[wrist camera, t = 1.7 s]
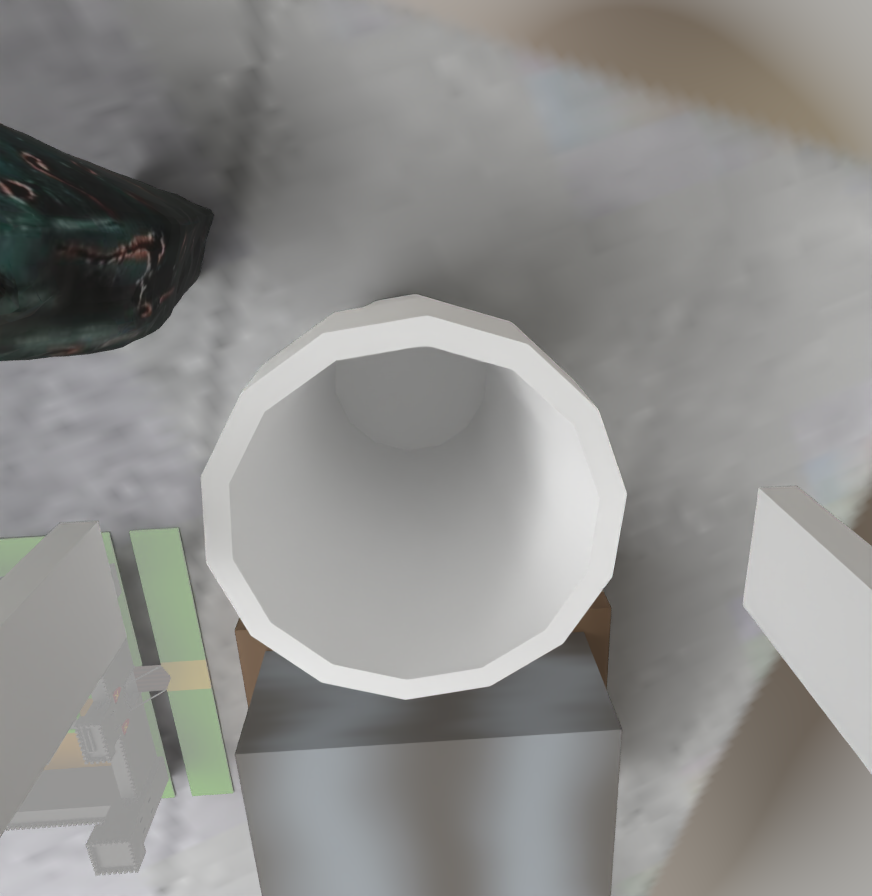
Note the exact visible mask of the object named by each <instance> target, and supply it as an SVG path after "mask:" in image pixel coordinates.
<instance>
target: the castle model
mask: <svg viewBox="0 0 872 896" xmlns="http://www.w3.org/2000/svg"><path fill="white" fill-rule="evenodd" d="M129 533H130V538H131V542H132V546H133V550H134V554H135V558H136V563H137V567H138V571H139V575H140V579H141V584H142V588H143V592H144V596H145V600H146V604H147V609H148V613H149V617H150V621H151V625H152V630H153V634H154V638H155V642H156V646H157V651H158V655H159V659H160V663H161V665H152V666H142V661H141V657H140V653H139V649H138V645H137V641H136V637H135V633H134V629H133V625H132V621H131V617H130V613H129V609H128V605H127V601H126V597H125V593H124V589H123V585H122V581H121V577H120V573H119V569H118V565H117V561H116V557H115V553H114V549H113V545H112V541H111V537H110V533H109V532H101V534H102V538H103V542H104V546H105V550H106V554H107V558H108V562H109V566H110V570H111V574H112V578H113V582H114V586H115V590H116V595H117V599H118V603H119V607H120V611H121V615H122V619H123V623H124V627H125V631H126V635H127V637H126V639H125V641H124V642H123V644H122V645H121V647H120V649H119V650H118V652H117V653H116V655H115V657H114V658H113V660H112V661H111V663H110V664H109V666H108V668H107V669H106V671H105V672H104V674H103V676H102V677H101V679H100V680H99V682H98V683H97V685H96V687H95V688H94V690H93V691H92V693H91V695H90V696H89V698H88V699H87V701H86V702H85V704H84V706H83V707H82V709H81V710H80V712H79V714H78V715H77V717H76V718H75V720H74V721H73V723H72V725H71V726H70V728H69V729H68V731H67V733H66V734H65V736H64V737H63V739H62V740H61V742H60V744H59V745H58V747H57V748H56V750H55V752H54V753H53V755H52V756H51V758H50V759H49V761H48V763H47V764H46V766H45V767H44V769H43V771H42V772H41V774H40V775H39V777H38V778H37V780H36V782H35V783H34V785H33V786H32V788H31V790H30V791H29V793H28V794H27V796H26V797H25V799H24V801H23V802H22V804H21V805H20V807H19V809H18V810H17V812H16V813H15V815H14V816H13V818H12V820H11V821H10V823H9V824H8V826H7V828H6V831H9V830H10V828H11V830H14V829H15V828H16V829H17V830H19V829H20V828H21V829H22V830H23V829H25V828H27V829H30V828H31V827H32V829H35V827H36V826H37V828H40V827H41V826H42V828H45V827H46V826H47V827H48V828H50V827H51V825H52V826H53V827H56V825H58V827H61V825H63V827H65V826H66V825H67V824H68V826H71V825H72V824H73V826H76V825H77V823H78V825H82V823H83V824H84V825H87V823H89V825H92V823H93V822H94V824H97V823H98V822H99V825H95V827H94V829H93V831H92V833H91V835H90V837H89V840H88V842H87V844H86V847H88V848H87V851H89V853H88V854H89V855H90V859H92V860H91V863H93V864H92V866H93V867H94V871H95V875H96V876H97V875H100V874H101V873H102V875H105V874H106V872H107V873H108V875H111V873H112V872H113V874H116V873H117V872H118V873H119V874H122V872H123V871H124V874H125V873H127V872H128V871H129V872H130V873H133V870H135V873H138V871H139V869H140V866H141V863H142V861H143V858H144V856H145V853H146V850H145V846H144V841H145V838H146V836H147V833H148V831H149V828H150V826H151V823H152V820H153V818H154V815H155V813H156V810H157V808H158V805H159V803H160V800H161V798H172V797H175V793H174V789H173V785H172V781H171V777H170V773H169V769H168V765H167V761H166V757H165V753H164V749H163V745H162V741H161V737H160V733H159V729H158V725H157V721H156V717H155V713H154V709H153V705H152V701H151V699H153V698H154V697H156V696H158V695H159V694H161V693H163V692H165V691H166V690H167V692H168V697H169V701H170V705H171V709H172V713H173V717H174V722H175V726H176V730H177V734H178V738H179V743H180V747H181V751H182V755H183V759H184V764H185V768H186V772H187V776H188V780H189V784H190V789H191V793H192V796H200V795H214V794H228V793H233V792H234V791H233V786H232V781H231V777H230V772H229V767H228V762H227V757H226V753H225V748H224V743H223V738H222V733H221V729H220V724H219V719H218V714H217V709H216V705H215V700H214V695H213V690H212V685H211V681H210V676H209V671H208V666H207V661H206V657H205V652H204V647H203V642H202V638H201V633H200V628H199V623H198V618H197V614H196V609H195V604H194V599H193V594H192V590H191V585H190V580H189V575H188V570H187V566H186V561H185V556H184V551H183V546H182V542H181V537H180V532H179V528H163V529H147V530H132V531H129ZM44 537H45V536H38V537H22V538H6V539H0V580H1V579H2V578H3V577H4V576H5V575H6V574H7V573H8V572H9V571H10V570H11V569H12V568H13V567H14V566H15V565H16V564H17V563H18V562H19V561H20V560H21V559H22V558H24V557H25V556H26V555H27V554H28V553H29V552H30V551H31V550H32V549H33V548H34V547H35V546H36V545H37V544H38V543H39V542H40V541H41V540H42V539H43V538H44ZM149 691H161V692H160V693H158V694H156V695H155V696H153V697H150V693H149ZM102 822H103V823H102Z"/></svg>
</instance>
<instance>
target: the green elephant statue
mask: <svg viewBox="0 0 872 896" xmlns="http://www.w3.org/2000/svg"><path fill="white" fill-rule="evenodd" d="M213 216H214V214H213V213H212V211H211V210H210V209H207V208H204V207H201V206H198V205H196V204H194V203H192V202H190V201H188V200H186V199H185V198H183V197H181V196H179V195H177V194H173V193H169V192H166V191H162V190H159V189H156V188H154V187H152V186H150V185H147V184H145V183H142V182H140V181H137V180H134V179H132V178H129V177H127V176H124V175H121V174H118V173H115V172H112V171H110V170H107V169H105V168H103V167H100V166H98V165H95V164H93V163H90V162H88V161H85V160H82V159H80V158H77V157H74V156H72V155H69V154H66V153H64V152H62V151H60V150H58V149H55V148H53V147H51V146H49V145H47V144H45V143H43V142H41V141H39V140H37V139H35V138H33V137H31V136H29V135H27V134H24V133H22V132H19V131H17V130H14V129H11V128H9V127H7V126H5V125H2V124H0V361H10V360H30V359H38V358H46V357H58V356H74V355H85V354H92V353H97V352H102V351H108V350H113V349H117V348H121V347H124V346H126V345H127V344H129V343H131V342H133V341H135V340H138V339H140V338H143V337H145V336H147V335H149V334H151V333H153V332H154V331H156V330H157V329H159V328H160V327H161V326H162V325H163V324H164V322H165V321H166V320H167V319H168V318H169V317H170V315H171V313H172V310H173V308H174V307H175V306H176V304H177V303H178V302H179V300H180V299H181V297H182V296H183V295H184V293H185V292H186V291H187V290H188V289H189V288H190V287H191V286H192V285H193V284H194V283H195V281H196V280H197V279H198V277H199V274H200V270H201V265H202V260H203V254H204V249H205V241H206V239H207V236H208V233H209V230H210V226H211V223H212V219H213Z"/></svg>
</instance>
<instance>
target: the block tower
mask: <svg viewBox="0 0 872 896" xmlns="http://www.w3.org/2000/svg"><path fill="white" fill-rule="evenodd" d="M610 621H611V606H610V604H609V602H608V600H607V598H606V596H605V594H604V592H603V590H602V591H601V593H600V594H599V595H598V597H597V598H596V600H595V601H594V602H593V604H592V605H591V606H590V608H589V609H588V610H587V612H586V613H585V614H584V616H583V617H582V619H581V620H580V621H579V623H578V624H577V625H576V627H575V628H574V629H573V631H572V632H571V633H570V635H569V636H568V638H567V639H566V640H565V642H564V643H563V644H562V645H560V646H558V647H556V648H555V649H553V650H551V651H550V652H548V653H546V654H544V655H543V656H541V657H539V658H538V659H536V660H534V661H532V662H531V663H529V664H527V665H526V666H524V667H522V668H520V669H519V670H517V671H515V672H514V673H512V674H510V675H508V676H507V677H505V678H503V679H502V680H500V681H498V682H497V683H495V684H493V685H491V686H489V687H482V688H476V689H470V690H464V691H457V692H451V693H445V694H439V695H432V696H426V697H420V698H414V699H407V700H404V699H399V698H394V697H389V696H385V695H380V694H375V693H370V692H365V691H360V690H355V689H351V688H346V687H341V686H336V685H331V684H326V683H321V682H320V681H318V680H317V679H315V678H314V677H312V676H311V675H309V674H308V673H306V672H305V671H303V670H302V669H300V668H299V667H297V666H296V665H294V664H293V663H291V662H290V661H288V660H287V659H285V658H284V657H282V656H281V655H279V654H278V653H276V652H275V651H273V650H272V649H270V648H269V647H267V646H266V645H264V644H263V643H261V642H260V641H258V640H257V639H255V638H254V637H252V636H251V635H250V634H249V632H248V630H247V629H246V627H245V625H244V624H243V622H242V621H241V619H240V618H239V620H238V623H237V626H236V628H235V635H236V641H237V647H238V652H239V658H240V663H241V669H242V675H243V680H244V686H245V692H246V697H247V703H248V712H247V715H246V719H245V722H244V725H243V729H242V732H241V735H240V739H239V742H238V746H237V749H236V752H235V758H236V763H237V768H238V773H239V779H240V784H241V789H242V794H243V799H244V805H245V810H246V815H247V820H248V825H249V831H250V836H251V841H252V846H253V851H254V857H255V862H256V867H257V872H258V877H259V883H260V888H261V893H262V896H611V882H612V868H613V853H614V839H615V825H616V810H617V796H618V782H619V768H620V753H621V739H622V728H621V725H620V723H619V720H618V718H617V715H616V713H615V710H614V708H613V705H612V702H611V700H610V697H609V695H608V692H607V673H608V656H609V638H610Z"/></svg>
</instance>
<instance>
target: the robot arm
mask: <svg viewBox="0 0 872 896" xmlns="http://www.w3.org/2000/svg"><path fill="white" fill-rule="evenodd" d="M743 606H744V608H745V609H746V610H747V612H748V613H749V614H750V616H751V617H752V618H753V620H754V621H755V622H756V623H757V625H758V626H759V627H760V629H761V630H762V631H763V633H764V634H765V635H766V637H767V638H768V639H769V640H770V642H771V643H772V644H773V646H774V647H775V648H776V650H777V651H778V652H779V654H780V655H781V656H782V657H783V659H784V660H785V661H786V663H787V664H788V665H789V667H790V668H791V669H792V671H793V672H794V673H795V675H796V676H797V677H798V678H799V680H800V681H801V682H802V683H803V685H804V686H805V688H806V689H807V690H808V691H809V693H810V694H811V695H812V697H813V698H814V699H815V700H816V702H817V703H818V705H819V706H820V707H821V708H822V710H823V711H824V712H825V714H826V715H827V716H828V718H829V719H830V720H831V722H832V723H833V724H834V725H835V727H836V728H837V729H838V731H839V732H840V733H841V735H842V736H843V737H844V739H845V740H846V741H847V743H848V744H849V745H850V746H851V748H852V749H853V750H854V752H855V753H856V754H857V756H858V757H859V758H860V760H861V761H862V762H863V764H864V765H865V766H866V767H867V769H868V770H869V771H870V773H871V774H872V546H871V545H870V544H868V543H867V542H866V541H865V540H863V539H862V538H861V537H860V536H858V535H857V534H856V533H855V532H853V531H852V530H851V529H850V528H848V527H847V526H846V525H845V524H844V523H842V522H841V521H840V520H839V519H837V518H836V517H835V516H834V515H832V514H831V513H830V512H829V511H827V510H826V509H825V508H824V507H822V506H821V505H820V504H819V503H818V502H816V501H815V500H814V499H813V498H811V497H810V496H809V495H808V494H806V493H805V492H804V491H803V490H801V489H800V488H799V487H798V486H783V487H763V488H759V489H758V496H757V504H756V511H755V518H754V525H753V532H752V540H751V547H750V554H749V561H748V568H747V576H746V583H745V590H744V597H743ZM126 637H127V635H126V631H125V627H124V623H123V619H122V615H121V611H120V607H119V603H118V599H117V595H116V590H115V586H114V582H113V578H112V574H111V570H110V566H109V562H108V558H107V554H106V550H105V546H104V542H103V538H102V534H101V529H100V525H99V521H85V522H65V523H59V524H58V525H57V526H56V527H55V528H54V529H53V530H52V531H50V532H49V533H48V534H47V535H46V536H45V537H44V538H43V539H42V540H41V541H40V542H39V543H38V544H37V545H36V546H35V547H34V548H33V549H32V550H31V551H30V552H29V553H28V554H27V555H26V556H25V557H24V558H22V559H21V560H20V561H19V562H18V563H17V564H16V565H15V566H14V567H13V568H12V569H11V570H10V571H9V572H8V573H7V574H6V575H5V576H4V577H3V578H2V579H1V580H0V837H1V836H2V834H3V832H4V831H5V829H6V828H7V826H8V824H9V823H10V821H11V820H12V818H13V816H14V815H15V813H16V812H17V810H18V809H19V807H20V805H21V804H22V802H23V801H24V799H25V797H26V796H27V794H28V793H29V791H30V790H31V788H32V786H33V785H34V783H35V782H36V780H37V778H38V777H39V775H40V774H41V772H42V771H43V769H44V767H45V766H46V764H47V763H48V761H49V759H50V758H51V756H52V755H53V753H54V752H55V750H56V748H57V747H58V745H59V744H60V742H61V740H62V739H63V737H64V736H65V734H66V733H67V731H68V729H69V728H70V726H71V725H72V723H73V721H74V720H75V718H76V717H77V715H78V714H79V712H80V710H81V709H82V707H83V706H84V704H85V702H86V701H87V699H88V698H89V696H90V695H91V693H92V691H93V690H94V688H95V687H96V685H97V683H98V682H99V680H100V679H101V677H102V676H103V674H104V672H105V671H106V669H107V668H108V666H109V664H110V663H111V661H112V660H113V658H114V657H115V655H116V653H117V652H118V650H119V649H120V647H121V645H122V644H123V642H124V641H125V639H126Z"/></svg>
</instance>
